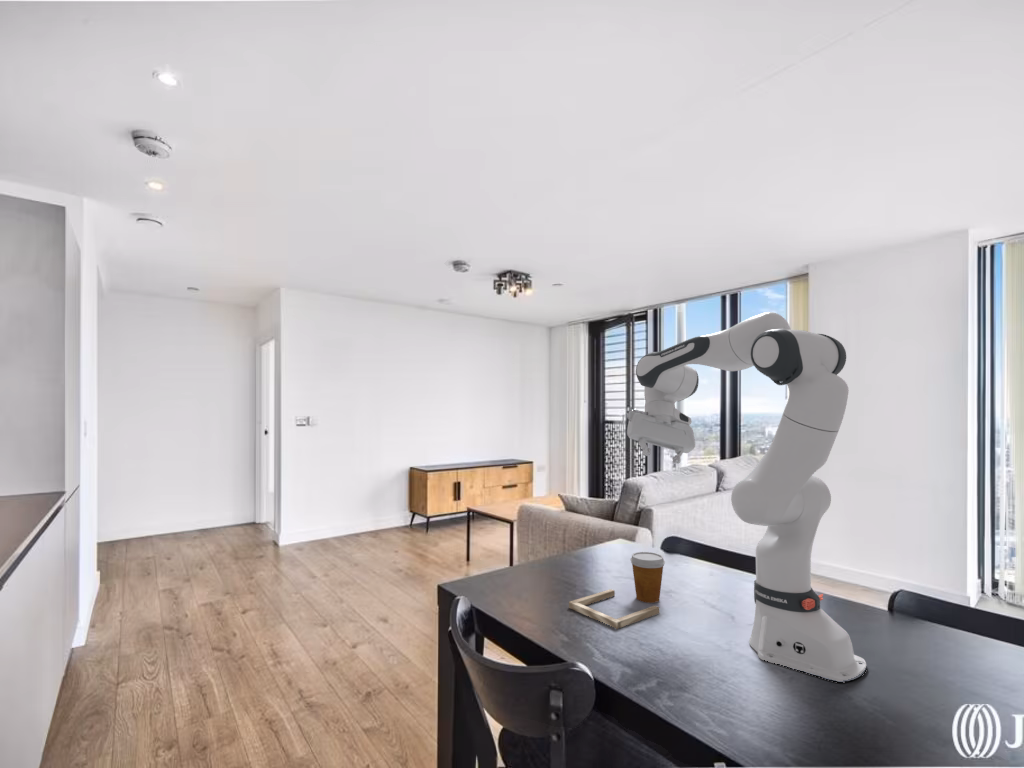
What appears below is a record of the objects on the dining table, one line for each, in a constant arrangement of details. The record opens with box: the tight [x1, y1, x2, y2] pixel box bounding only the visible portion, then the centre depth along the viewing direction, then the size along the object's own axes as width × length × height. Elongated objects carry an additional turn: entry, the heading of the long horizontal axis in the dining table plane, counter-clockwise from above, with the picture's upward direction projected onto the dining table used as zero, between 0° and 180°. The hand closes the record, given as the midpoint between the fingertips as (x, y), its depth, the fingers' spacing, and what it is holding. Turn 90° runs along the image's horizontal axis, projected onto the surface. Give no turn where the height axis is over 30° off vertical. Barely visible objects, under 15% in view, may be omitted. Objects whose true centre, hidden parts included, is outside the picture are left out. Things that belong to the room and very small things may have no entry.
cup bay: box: [568, 588, 660, 630], centre depth 140 cm, size 17×16×2 cm
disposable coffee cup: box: [630, 551, 666, 604], centre depth 149 cm, size 10×10×12 cm
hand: (661, 458), depth 148 cm, fingers open, 8 cm apart
